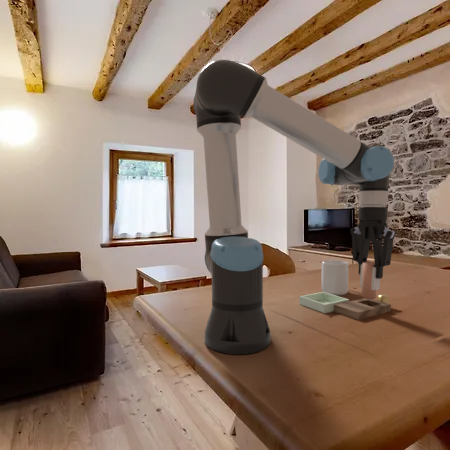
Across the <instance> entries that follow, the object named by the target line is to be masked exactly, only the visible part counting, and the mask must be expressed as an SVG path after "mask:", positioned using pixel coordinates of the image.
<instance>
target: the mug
mask: <svg viewBox="0 0 450 450" xmlns="http://www.w3.org/2000/svg"><path fill="white" fill-rule="evenodd" d="M320 281H321V292H326V293H329V294H332V295H336V296H343V295H347V294H348V292H349V262H348V261H344V260H337V259H326V260H322V261H321V280H320Z"/></svg>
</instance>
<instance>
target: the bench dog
mask: <svg viewBox="0 0 450 450" xmlns="http://www.w3.org/2000/svg"><path fill="white" fill-rule="evenodd" d="M377 301H380V302H384V303H387V304H390V295H389V294H386V293H385V294H384V293H380V294H378V295H377Z"/></svg>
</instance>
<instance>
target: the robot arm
mask: <svg viewBox="0 0 450 450" xmlns="http://www.w3.org/2000/svg"><path fill="white" fill-rule="evenodd" d="M193 109H194V113H195V118H196V131H197V133H198V134H200V135H201V136H202V137H203V149H204V163H205V177H206V191H207V192H206V193H207V204H208V206H207V207H208V217H209V218H208V219H209V220H208V221H209V227H208V229H207V230H206V231H205V233H204V243H205V244H204V245H205V251H204V252H205V254H204V262H205V263H204V264H205V266H206V269H207V271H208V272H209V273H210V275H211V306H212V307H211V309H210V310H211V311H210V312H209V316H208V319H207V323H206V326H205V329H204V343H205V345H206V346H207V347H208V348H209V349H211V350H212V351H216V352H217V353H222V354H227V355H228V354H229V355H248V354H255V353H259V352H260V351H263V350H265V349H266V348H268V346H270V344H271V328H270V326H269V323H268V321H267V316H266V314H265V311H264V307H263V305H264V303H263V301H264V296H263V295H264V294H263V292H264V287H263V286H264V285H263V283H264V280H263V279H264V276H263V275H264V274H263V273H264V271H263V270H264V269H263V267H264V265H263V264H264V253H263V245H262V244H261V242H260V241H258V240H256V239H255V238H251V237H249V233H248V232H249V230H248V229H246V227H244V225H242V214H241V212H242V211H241V208H242V207H241V196H240V179H239V165H238V151H237V150H238V147H237V134H238V133H239V131H240V130H241V129H242V122H241V121H242V120H241V118H243V119H247V118H253V119H255V120H256V121H257V122H259V123H261V124H263V125H265V126H266V127H268V128H270V129H271V130H274V131H275V132H277V133H278V134H281V135H282V136H284V137H285V138H287V139H288V140H290V141H292V142H294V143H296V144H298V145H299V146H301V147H303V148H305V149H306V150H308V151H309V152H311V153H313V154H315V155H316V156H318V157H320V158H321V161H320V163H319V166H318V174H317V175H318V178H319V181H320V182H321V184H324V185H331V186H334V185H335V186H336V185H337V186H339V185H341V186H345V185H346V186H347V185H348V186H349V185H350V186H351V185H352V186H358V188H359V192H358V194H359V195H358V205H359V206H360V207H358V216H357V218H358V220H359V222H358V224H357V226H355V227H351V228H350V230H349V231H350V235H351V249H352V260H353V262H356V263H358V275H359V276H360V277H359V287H360V288H362V268H363V262H368V256H369V251H370V246H371V243H372V248H373V260H374V261H373V262H375V265H373V266H374V267H373V270H372V284H371V290H376V291H377V290H380V289H381V288H380V287H381V279H383V276H384V275H383V274H384V267H386V266H390V265H391V261H392V252H393V246H394V245H393V244H394V239H395V237H396V235H397V231H396V230H391V229H390V228H389V227H388V225H387V220H388V208H387V207H386V206H388V204H389V203H388V202H389V183H390V181H389V179H390V174H391V172H392V171H393V169H394V165H395V159H394V158H395V157H394V155H393V153H392V151H391V150H390V149H389V148H387V147H385V146H381V145H378V146H377V145H375V146H374V145H373V146H370V145H367V144H366V143H364V142H362V141H360V140H359V139H357V138H356V137H354V136H352V135H351V134H349V133H348V132H346V131H344V130H342V129H341V128H339V127H338V126H336V125H334V124H332V123H331V122H329V121H327V120H326V119H325V118H322V117H321V116H319V114H316V113H314V112H313V111H311V110H309V109H308V108H306V107H304V106H303V105H302V104H300V103H298V102H297V101H295V100H293V99H292V98H290V97H289V96H286V95H285V94H283V93H281V92H280V91H279V90H277V89H275V88H273V87H272V86H270V85H269V84H268V79H267V77H265V76H264V75H262V74H260V73H258V72H257V71H256V70H254V69H251V68H250V67H247V66H245V65H244V64H241V63H239V62H237V61H233V60H229V59H216V60H213V61H211V62H210V63H208V64H207V65H206V66H204V67H203V69H202V70H201V71H200V73H199V74H198V77H197V80H196V88H195V93H194V97H193Z"/></svg>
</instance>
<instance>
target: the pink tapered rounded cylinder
mask: <svg viewBox="0 0 450 450" xmlns="http://www.w3.org/2000/svg"><path fill="white" fill-rule="evenodd" d="M373 265H375V261H367V262H363V268H362V287H361V296H362V299H363V298H366V299H373V300H376V298H377V297H376V295H377V294H376V293H377V290H371V284H372V270H373V267H374V266H373Z"/></svg>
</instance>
